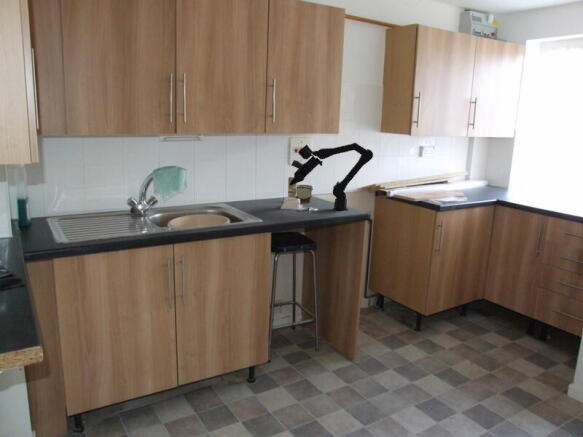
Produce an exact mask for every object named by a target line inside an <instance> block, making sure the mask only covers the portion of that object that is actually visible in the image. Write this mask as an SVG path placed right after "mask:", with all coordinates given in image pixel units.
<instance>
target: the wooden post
mask: <svg viewBox="0 0 583 437" xmlns="http://www.w3.org/2000/svg"><path fill="white" fill-rule="evenodd" d="M293 178H294V177H293V176H289V177H287V180H288V181H287V182H288V183H287V186H288V187H287V198H295V197H296V196H297V185H298V183H296V184H293V185H291V186H290V185H289V184H290V182H291V181H292V180H293Z"/></svg>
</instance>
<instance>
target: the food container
mask: <svg viewBox="0 0 583 437" xmlns="http://www.w3.org/2000/svg"><path fill="white" fill-rule="evenodd" d="M313 190H314V187H313V186H312V185H309V184H297V196H296V197H294V199H300V203H306V204H310V203H311V200H312V192H313Z"/></svg>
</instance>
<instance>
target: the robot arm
mask: <svg viewBox="0 0 583 437" xmlns="http://www.w3.org/2000/svg"><path fill="white" fill-rule="evenodd" d="M351 151H355V152H357V153H358V154H359V155H360V156H359V159H358V160H357V162H356V163H355V164H354V165H353V167H352V168H351V169H350V170H349V172H348V173H347V174H346V175H345V176H344V178H343V179H342V180H340V181H339V180H337V181H336V183H335V184H334V185H333V187H332V195H333V196H334V197H335V198H334V202H333V204H334V205H333V206H334V207H332V209H333V210H336V211H339V212H340V211H349V208H348V207H347V204H348V202H347V201H348V199H347V193H346V192H345V190H346V188H347V186H348V185H349V184H350V183H351V181H352V180H353V179H354V178H355V176H356V175H357V174H358V173H359V172H360V170H361V169H362V168H363V167H364V166H365V165H366V164H367V163H369V162H370V161H371V160H372V159H373V157H374V152H373V150H371V149H369V148H365V147H363V146H362V145H360V144H358V143H357V142H352V143H350V144H344V145H341V146H336V147H328V148H327V147H326V148H325V147H324V148H319V149H318V150H312V149H311V148H310V147H309V145H308V144H305V145H304V146H303V147H301V149H300V150H299V151H297V154H298V155H300V158H302V159H303V160H306V162H304V163H302V162H300V161H299V160H296V159H293V160H292V163H291V167H293V168H296V169H297V170H296V171H295V172H294V173H293V176H294V178H293V180H292V181H291V182H290V184H289V185H290V186H291V185H293V184H296V183H297V184H299V183H301V182H303V181H304V180H305V179H306V177H307V176H308V175H309V174H310V173H312V172H313V170H314V169H316V167H317V166H320V167H322V166H323V161H324V160H325V159H328V158H331V157H332V156H334V155H339V154H342V153H347V152H351Z"/></svg>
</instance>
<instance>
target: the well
mask: <svg viewBox="0 0 583 437" xmlns="http://www.w3.org/2000/svg"><path fill="white" fill-rule="evenodd" d="M303 208H304V204H301V202H300V199H296V198H294V197H286V198H284V200H283V204H282V205H281V207H280V210H293V211H296V210H297V211H302V210H303Z"/></svg>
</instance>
